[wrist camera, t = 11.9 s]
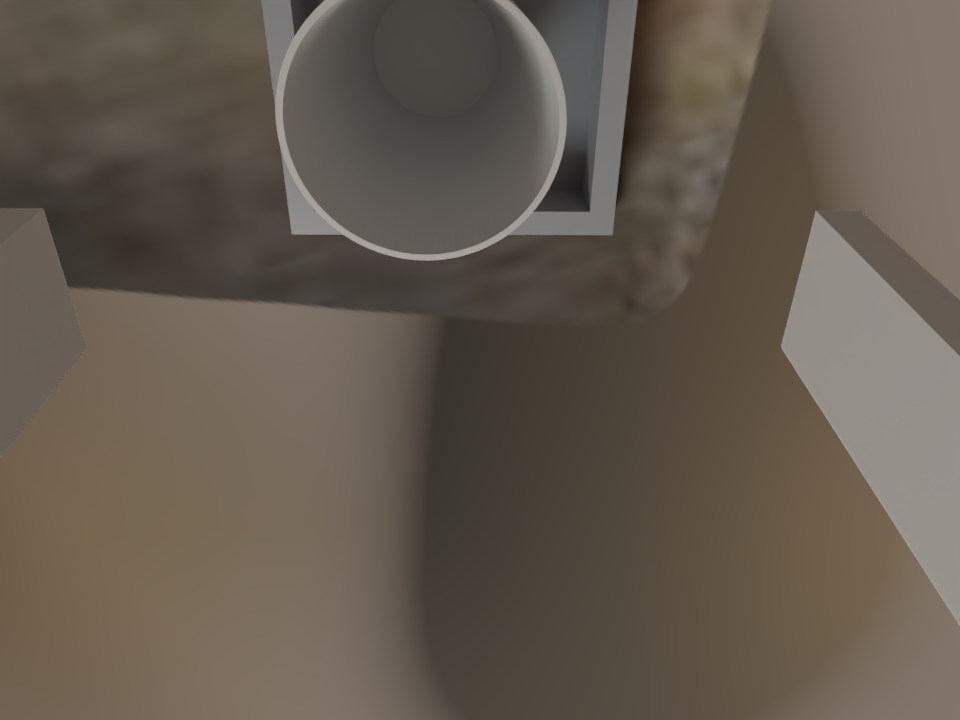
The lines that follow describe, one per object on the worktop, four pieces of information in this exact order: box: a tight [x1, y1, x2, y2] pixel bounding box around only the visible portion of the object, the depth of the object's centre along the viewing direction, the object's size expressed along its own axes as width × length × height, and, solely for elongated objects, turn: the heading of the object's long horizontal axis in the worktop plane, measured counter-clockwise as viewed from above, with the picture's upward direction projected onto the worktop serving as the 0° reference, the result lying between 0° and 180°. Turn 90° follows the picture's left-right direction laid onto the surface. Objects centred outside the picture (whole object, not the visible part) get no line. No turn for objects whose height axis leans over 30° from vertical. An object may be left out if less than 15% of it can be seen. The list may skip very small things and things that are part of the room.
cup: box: [275, 0, 567, 260], centre depth 26 cm, size 8×8×10 cm
